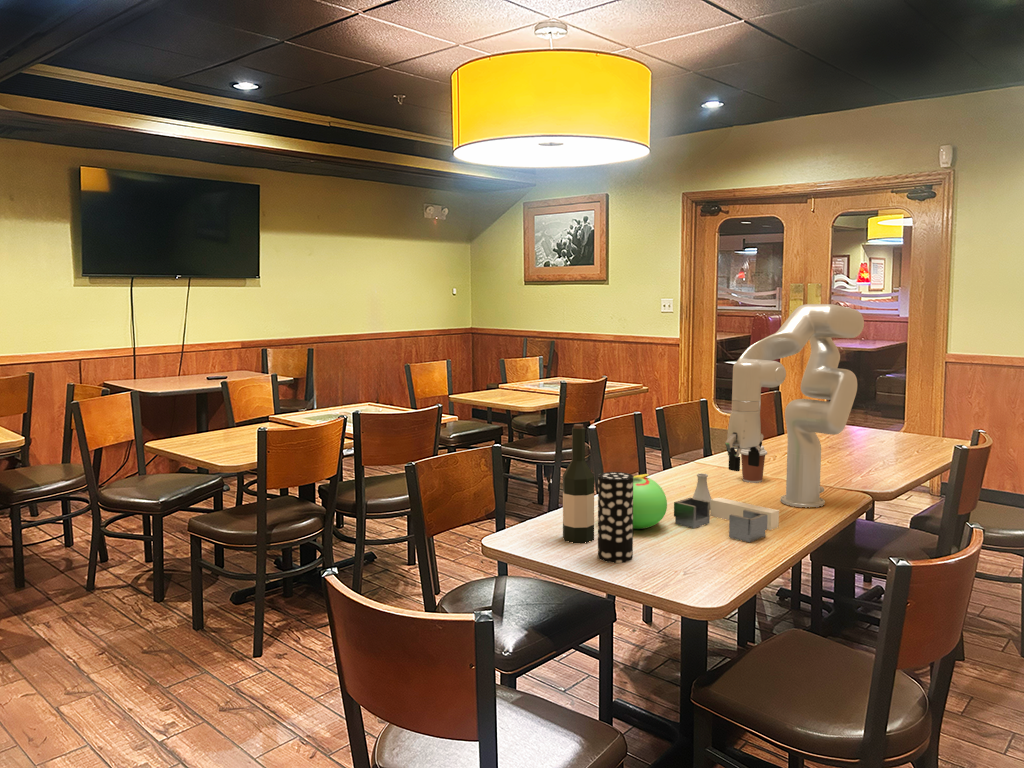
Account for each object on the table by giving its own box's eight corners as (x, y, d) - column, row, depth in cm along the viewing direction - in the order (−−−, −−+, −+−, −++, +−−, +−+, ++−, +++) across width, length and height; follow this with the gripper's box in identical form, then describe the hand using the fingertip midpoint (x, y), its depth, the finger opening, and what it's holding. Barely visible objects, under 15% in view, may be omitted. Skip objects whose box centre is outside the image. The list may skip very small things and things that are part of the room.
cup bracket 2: (744, 531, 206) (745, 509, 205) (766, 537, 201) (767, 514, 200) (728, 537, 201) (729, 515, 200) (751, 543, 196) (751, 520, 195)
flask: (714, 511, 226) (715, 477, 225) (689, 510, 228) (690, 476, 226) (713, 504, 233) (714, 472, 232) (689, 503, 235) (689, 471, 234)
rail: (718, 514, 224) (718, 497, 223) (778, 528, 210) (779, 510, 209) (710, 516, 221) (710, 499, 221) (770, 531, 207) (771, 513, 207)
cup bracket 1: (689, 518, 219) (690, 497, 218) (709, 523, 214) (709, 501, 213) (673, 523, 214) (674, 502, 213) (693, 528, 209) (693, 506, 208)
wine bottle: (597, 535, 204) (598, 423, 200) (590, 545, 196) (590, 428, 193) (567, 532, 206) (566, 421, 203) (558, 542, 198) (558, 426, 195)
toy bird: (676, 534, 204) (676, 480, 202) (614, 538, 201) (614, 483, 200) (652, 516, 222) (653, 465, 220) (595, 519, 219) (595, 468, 217)
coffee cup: (739, 476, 269) (740, 442, 268) (767, 478, 266) (768, 444, 265) (737, 482, 261) (738, 447, 259) (765, 484, 257) (766, 449, 256)
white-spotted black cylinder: (594, 552, 190) (595, 472, 188) (628, 551, 191) (628, 471, 189) (601, 563, 182) (601, 480, 180) (636, 562, 183) (637, 479, 181)
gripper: (750, 402, 220) (748, 462, 222) (716, 408, 209) (714, 470, 211) (775, 405, 215) (772, 466, 217) (740, 410, 203) (738, 474, 205)
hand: (744, 468), depth 214 cm, fingers open, 9 cm apart
